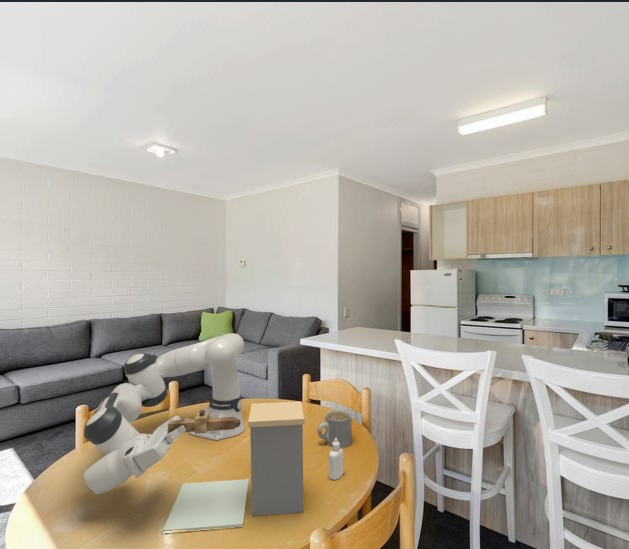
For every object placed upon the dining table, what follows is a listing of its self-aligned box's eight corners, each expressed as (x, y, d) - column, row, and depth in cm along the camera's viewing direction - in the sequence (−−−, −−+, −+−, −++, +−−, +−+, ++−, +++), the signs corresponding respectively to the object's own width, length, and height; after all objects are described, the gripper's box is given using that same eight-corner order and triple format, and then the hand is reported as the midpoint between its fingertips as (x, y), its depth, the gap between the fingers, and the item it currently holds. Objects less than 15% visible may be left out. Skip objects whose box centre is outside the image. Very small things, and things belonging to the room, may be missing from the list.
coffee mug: (347, 434, 146) (347, 409, 146) (355, 446, 136) (354, 419, 136) (314, 437, 144) (314, 412, 143) (320, 450, 134) (319, 423, 134)
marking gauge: (166, 435, 99) (166, 416, 99) (171, 427, 104) (171, 409, 104) (239, 431, 101) (239, 412, 101) (241, 423, 106) (241, 405, 106)
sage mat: (162, 534, 93) (162, 530, 93) (183, 486, 112) (183, 483, 112) (242, 527, 95) (242, 523, 95) (249, 482, 114) (249, 479, 114)
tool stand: (249, 517, 98) (248, 421, 98) (253, 488, 111) (251, 403, 110) (305, 513, 100) (304, 418, 99) (302, 485, 113) (301, 401, 112)
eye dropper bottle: (325, 474, 118) (325, 437, 118) (341, 470, 120) (340, 434, 120) (331, 481, 114) (330, 443, 114) (347, 477, 116) (346, 440, 116)
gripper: (161, 442, 112) (200, 418, 113) (134, 482, 91) (183, 451, 92) (149, 425, 111) (189, 401, 112) (120, 461, 91) (169, 431, 92)
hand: (186, 424), depth 102 cm, fingers closed on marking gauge, 2 cm apart
